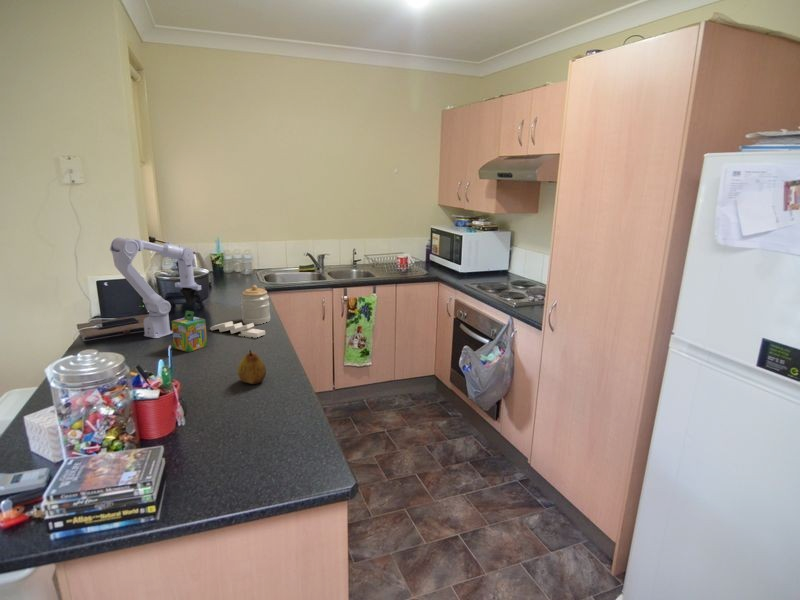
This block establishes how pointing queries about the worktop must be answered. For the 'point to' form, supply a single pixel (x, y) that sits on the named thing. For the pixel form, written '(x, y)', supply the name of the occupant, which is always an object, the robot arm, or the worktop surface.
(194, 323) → the chalk box
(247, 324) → the domino
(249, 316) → the jar
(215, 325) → the domino
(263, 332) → the domino
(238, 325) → the domino
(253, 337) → the domino
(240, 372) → the fruit
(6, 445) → the worktop surface
